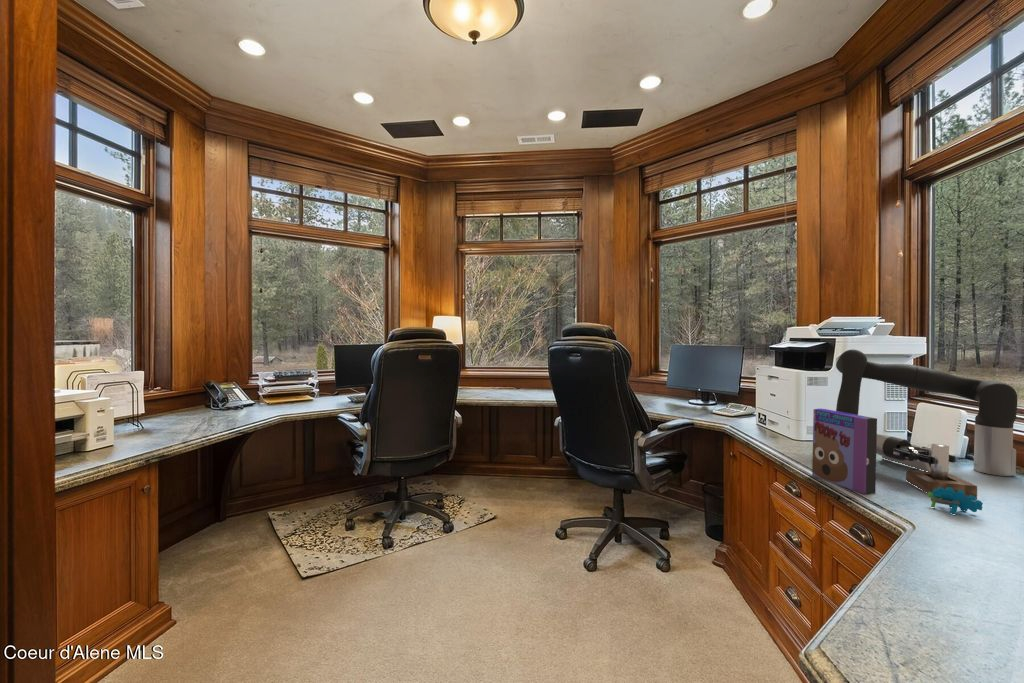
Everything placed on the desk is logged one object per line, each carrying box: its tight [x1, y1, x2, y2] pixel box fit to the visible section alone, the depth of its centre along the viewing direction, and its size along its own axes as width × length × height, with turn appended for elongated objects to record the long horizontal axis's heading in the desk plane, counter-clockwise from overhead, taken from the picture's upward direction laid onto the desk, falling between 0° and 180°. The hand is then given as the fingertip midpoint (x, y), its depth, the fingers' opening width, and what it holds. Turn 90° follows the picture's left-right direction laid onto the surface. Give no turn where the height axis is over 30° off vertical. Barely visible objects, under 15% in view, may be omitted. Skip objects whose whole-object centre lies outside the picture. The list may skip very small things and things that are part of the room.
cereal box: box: [811, 408, 878, 495], centre depth 141 cm, size 17×5×24 cm, turn 14°
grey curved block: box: [881, 443, 931, 472], centre depth 161 cm, size 17×5×10 cm, turn 10°
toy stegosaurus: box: [927, 487, 984, 514], centre depth 119 cm, size 11×6×10 cm
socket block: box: [905, 469, 978, 500], centre depth 137 cm, size 12×12×4 cm
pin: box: [930, 443, 950, 481], centre depth 136 cm, size 4×4×14 cm
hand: (944, 460), depth 135 cm, fingers open, 8 cm apart
